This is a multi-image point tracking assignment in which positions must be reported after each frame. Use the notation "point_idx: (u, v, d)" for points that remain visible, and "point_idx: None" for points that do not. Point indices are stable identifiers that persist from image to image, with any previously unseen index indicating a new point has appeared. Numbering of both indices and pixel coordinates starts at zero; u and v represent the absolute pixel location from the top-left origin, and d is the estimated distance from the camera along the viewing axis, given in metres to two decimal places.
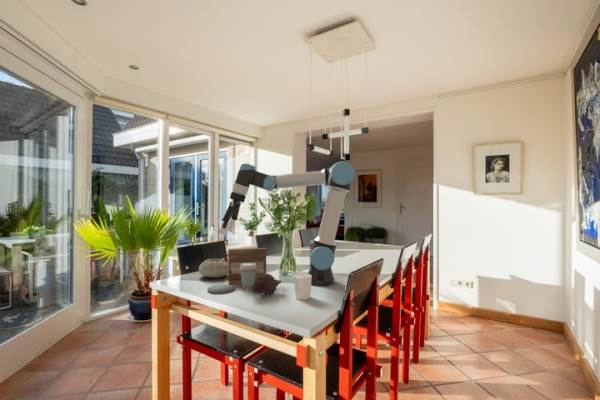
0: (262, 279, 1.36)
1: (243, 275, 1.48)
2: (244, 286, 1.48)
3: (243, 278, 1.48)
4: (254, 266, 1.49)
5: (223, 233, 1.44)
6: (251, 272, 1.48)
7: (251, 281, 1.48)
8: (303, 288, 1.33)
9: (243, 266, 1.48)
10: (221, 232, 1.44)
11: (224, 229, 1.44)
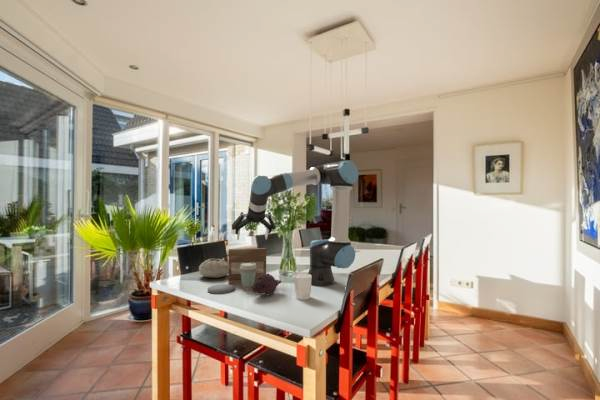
0: (262, 279, 1.36)
1: (243, 275, 1.48)
2: (244, 286, 1.48)
3: (243, 278, 1.48)
4: (254, 266, 1.49)
5: None
6: (251, 272, 1.48)
7: (251, 281, 1.48)
8: (303, 288, 1.33)
9: (243, 266, 1.48)
10: None
11: None
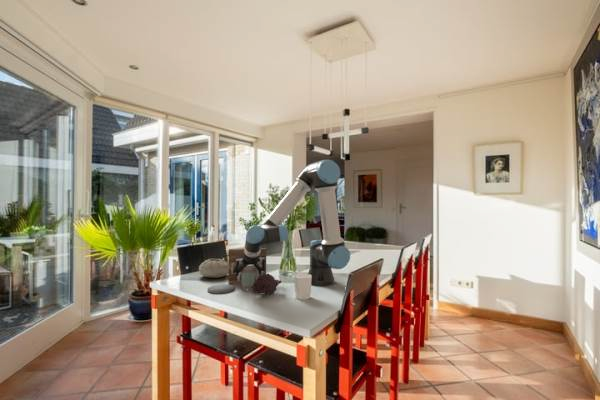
0: (262, 279, 1.36)
1: (243, 275, 1.48)
2: (244, 286, 1.48)
3: (243, 278, 1.48)
4: (254, 266, 1.49)
5: None
6: (251, 271, 1.48)
7: (251, 281, 1.48)
8: (303, 288, 1.33)
9: None
10: None
11: None
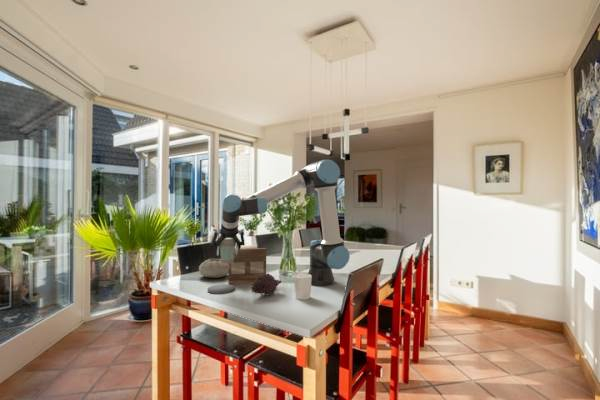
0: (262, 279, 1.36)
1: (222, 249, 1.45)
2: (223, 260, 1.45)
3: (222, 252, 1.45)
4: (233, 240, 1.46)
5: None
6: (230, 245, 1.45)
7: (230, 255, 1.45)
8: (303, 288, 1.33)
9: None
10: None
11: None
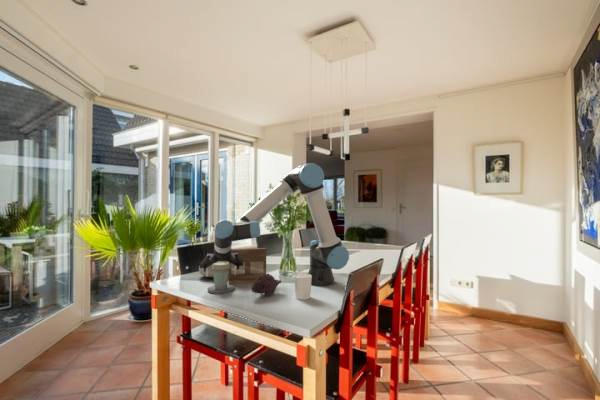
0: (262, 279, 1.36)
1: (215, 275, 1.44)
2: (216, 286, 1.44)
3: (215, 278, 1.44)
4: (227, 265, 1.45)
5: None
6: (223, 271, 1.44)
7: (223, 281, 1.44)
8: (303, 288, 1.33)
9: (215, 266, 1.44)
10: (235, 272, 1.51)
11: None
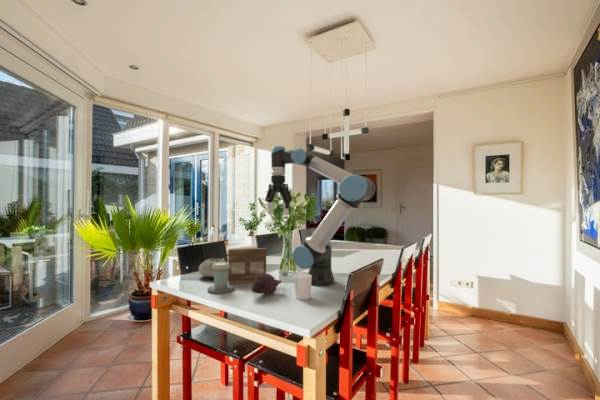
0: (262, 279, 1.36)
1: (215, 275, 1.44)
2: (216, 286, 1.44)
3: (215, 278, 1.44)
4: (227, 266, 1.45)
5: (287, 213, 1.57)
6: (223, 271, 1.44)
7: (223, 281, 1.44)
8: (303, 288, 1.33)
9: (215, 265, 1.44)
10: (285, 213, 1.56)
11: (287, 209, 1.57)
